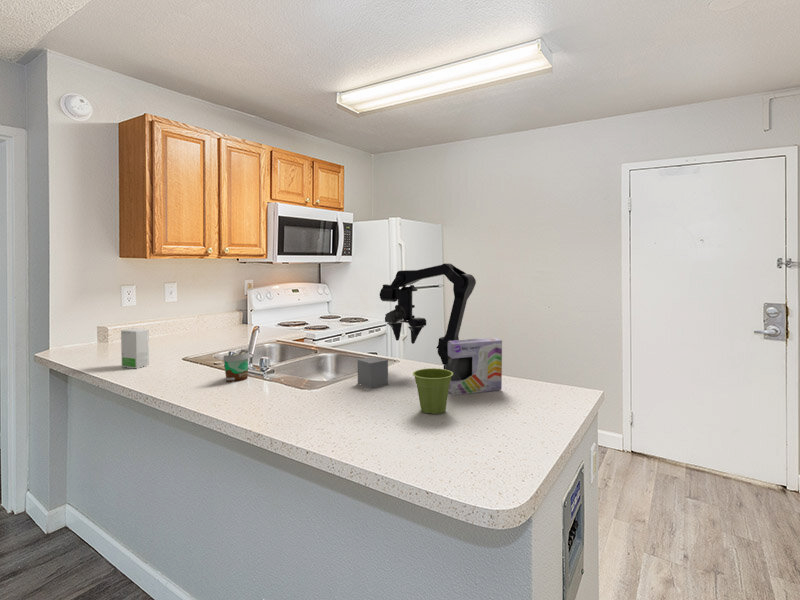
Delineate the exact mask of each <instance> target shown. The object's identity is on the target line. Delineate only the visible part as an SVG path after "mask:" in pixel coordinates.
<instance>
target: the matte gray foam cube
mask: <svg viewBox="0 0 800 600" xmlns="http://www.w3.org/2000/svg"><path fill="white" fill-rule="evenodd" d="M360 384H361V385H360ZM357 385H360V386H362V385H363V387H365V386H366V387H365V388H368V389H374V388H375V389H376V388H378V387H383V386H387V385H389V360H388V359H387V358H381V357H377V356H371V357H370V356H369V357H365V358H359V359H357Z"/></svg>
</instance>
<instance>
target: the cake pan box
mask: <svg viewBox="0 0 800 600" xmlns="http://www.w3.org/2000/svg"><path fill="white" fill-rule="evenodd" d="M502 369H503V340H502V339H500V338H498V337H488V338H487V337H486V338H470V339H469V338H468V339H459V340H454V341H448V365H447V370H449V371H451V372H453V376H451V382H450V384H449V391H448V394H451V395H452V396H456V395H458V396H459V395H468V394H476V393H485V392H493V391H499V390H502V386H503V385H502V384H503V383H502V380H503V379H502V378H503V377H502V375H503V374H502V373H503V370H502Z"/></svg>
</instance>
